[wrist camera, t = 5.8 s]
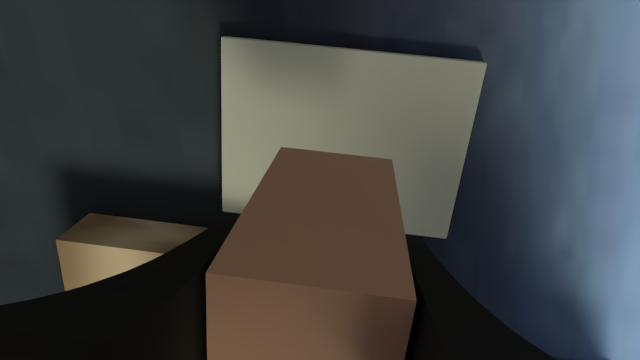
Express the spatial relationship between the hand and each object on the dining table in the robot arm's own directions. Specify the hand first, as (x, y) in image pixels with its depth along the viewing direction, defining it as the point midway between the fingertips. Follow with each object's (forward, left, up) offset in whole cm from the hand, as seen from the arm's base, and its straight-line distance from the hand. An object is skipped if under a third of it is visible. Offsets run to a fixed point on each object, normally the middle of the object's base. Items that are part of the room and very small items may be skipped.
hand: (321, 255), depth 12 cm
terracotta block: (0, 0, -4) cm, 4 cm away
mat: (0, 0, -10) cm, 10 cm away
